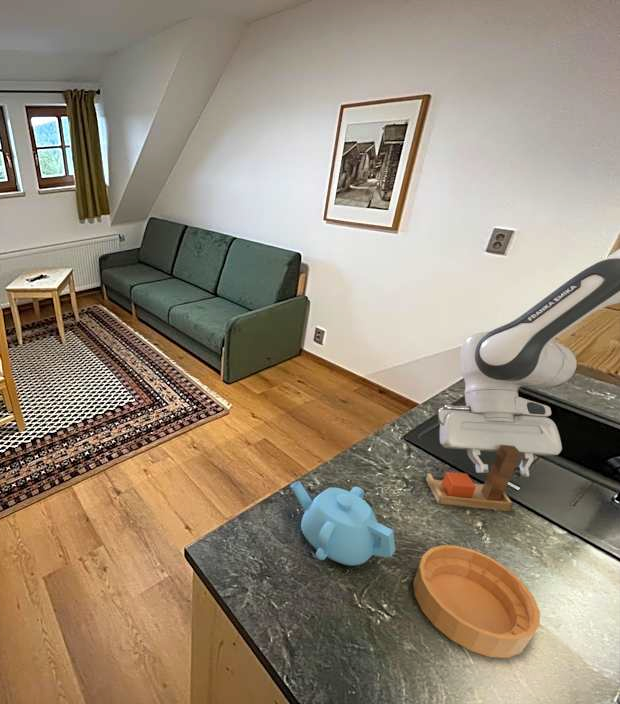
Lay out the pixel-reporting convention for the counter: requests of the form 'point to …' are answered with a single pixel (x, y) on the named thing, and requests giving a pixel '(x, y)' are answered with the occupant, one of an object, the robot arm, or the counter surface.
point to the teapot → (343, 526)
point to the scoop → (493, 488)
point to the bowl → (476, 601)
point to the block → (458, 485)
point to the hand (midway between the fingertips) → (502, 474)
